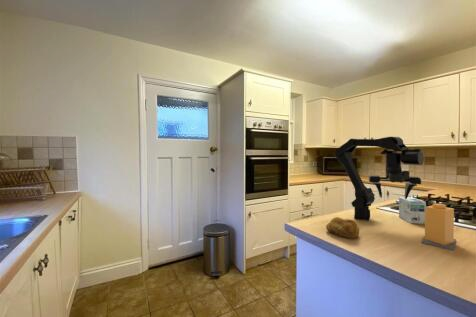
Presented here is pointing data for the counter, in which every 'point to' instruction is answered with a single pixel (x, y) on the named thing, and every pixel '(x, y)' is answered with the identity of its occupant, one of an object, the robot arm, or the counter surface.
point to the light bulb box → (412, 210)
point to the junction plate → (447, 246)
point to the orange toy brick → (439, 224)
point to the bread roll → (343, 228)
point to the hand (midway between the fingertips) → (393, 198)
